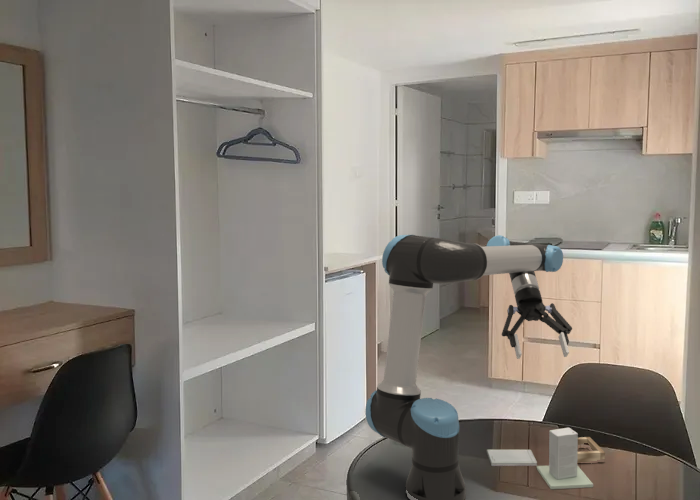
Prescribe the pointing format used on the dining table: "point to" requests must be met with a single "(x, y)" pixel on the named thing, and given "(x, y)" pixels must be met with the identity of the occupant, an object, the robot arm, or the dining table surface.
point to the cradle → (589, 455)
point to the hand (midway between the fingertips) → (543, 355)
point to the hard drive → (511, 458)
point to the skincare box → (563, 453)
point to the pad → (565, 479)
